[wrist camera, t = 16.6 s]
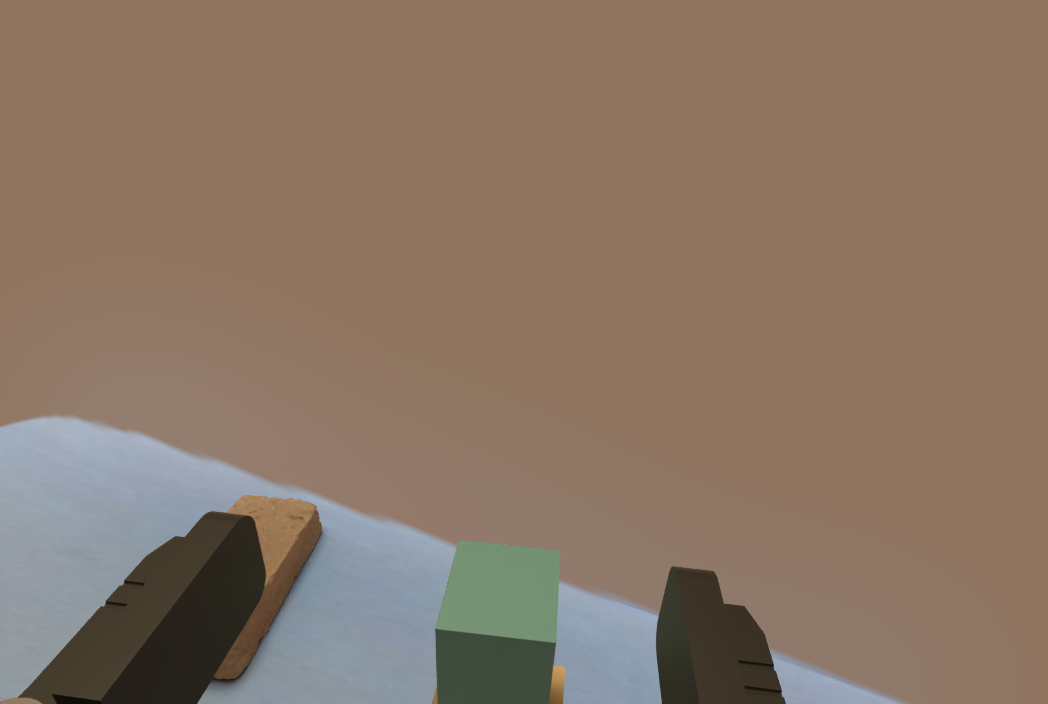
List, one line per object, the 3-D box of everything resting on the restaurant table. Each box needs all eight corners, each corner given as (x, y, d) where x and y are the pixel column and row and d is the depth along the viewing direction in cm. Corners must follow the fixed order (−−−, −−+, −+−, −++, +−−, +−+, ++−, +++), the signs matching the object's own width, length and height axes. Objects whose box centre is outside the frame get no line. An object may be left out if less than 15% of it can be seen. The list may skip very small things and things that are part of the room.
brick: (248, 522, 58) (239, 486, 56) (327, 531, 58) (321, 495, 56) (134, 676, 44) (116, 636, 41) (238, 690, 43) (226, 649, 41)
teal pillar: (540, 778, 28) (555, 642, 23) (439, 765, 28) (435, 628, 23) (546, 680, 32) (560, 550, 28) (459, 669, 32) (458, 539, 28)
